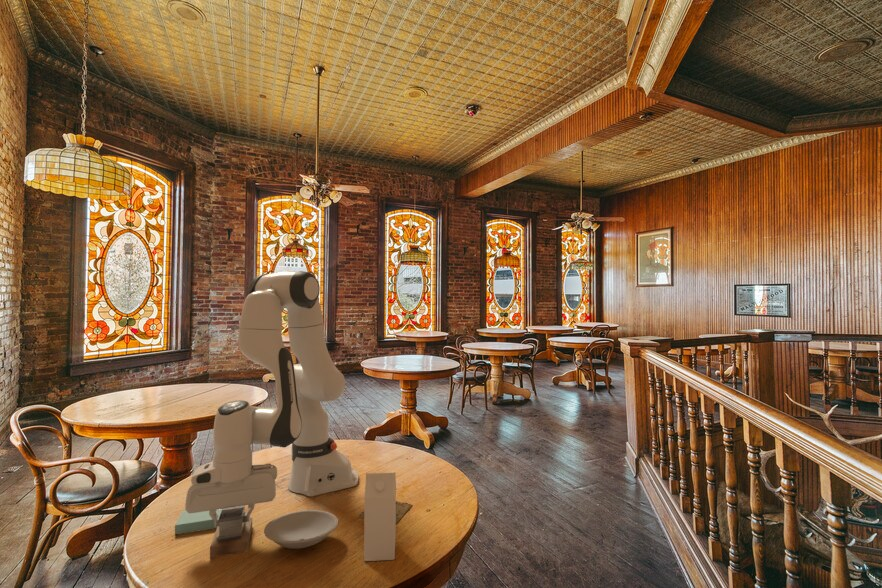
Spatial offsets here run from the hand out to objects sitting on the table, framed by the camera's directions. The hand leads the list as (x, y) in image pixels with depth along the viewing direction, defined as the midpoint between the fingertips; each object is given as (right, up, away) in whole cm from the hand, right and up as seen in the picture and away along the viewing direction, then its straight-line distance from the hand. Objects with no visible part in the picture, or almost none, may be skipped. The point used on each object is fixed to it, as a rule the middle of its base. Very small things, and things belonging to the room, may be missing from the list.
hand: (232, 523), depth 102 cm
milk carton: (+38, -5, -4) cm, 38 cm away
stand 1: (-12, -5, +8) cm, 16 cm away
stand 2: (0, -5, 0) cm, 5 cm away
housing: (0, -2, 0) cm, 2 cm away
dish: (+18, -5, -1) cm, 19 cm away
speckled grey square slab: (+37, -6, +15) cm, 40 cm away
